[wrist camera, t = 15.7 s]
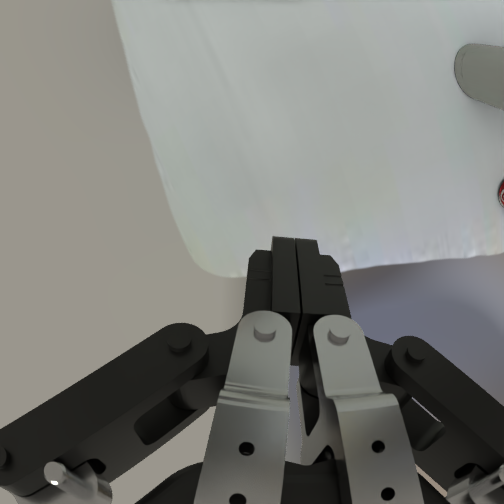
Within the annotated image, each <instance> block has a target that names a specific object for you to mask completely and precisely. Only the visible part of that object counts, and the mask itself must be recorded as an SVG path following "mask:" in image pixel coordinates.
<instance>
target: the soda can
mask: <svg viewBox="0 0 504 504" xmlns="http://www.w3.org/2000/svg"><path fill="white" fill-rule="evenodd" d="M499 201H500V203H501V205H502V206H503V207H504V182H503V183H502V185H501V188H500V191H499Z"/></svg>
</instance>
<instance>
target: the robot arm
mask: <svg viewBox="0 0 504 504" xmlns="http://www.w3.org/2000/svg"><path fill="white" fill-rule="evenodd" d="M455 75H456V78H457V81H458V83H459V85H460V87H461V89H462V90H463V91H464V92H465V93H466V94H467V95H468V96H469V97H471V98H473V99H476V100H478V101H481V102H484V103H486V104H489V105H491V106H494V107H496V108H499V109H501V110H504V47H499V46H490V45H481V44H468V45H466V46H464V47H463V48H461V49H460V51H459V52H458V54H457V56H456V60H455ZM290 365H295V366H299V379H298V381H297V387H296V388H297V397H298V405H299V414H300V423H301V432H302V448H301V457H300V462H301V465H300V464H296V463H292V462H288V461H285V456H286V445H287V435H288V424H289V423H288V422H289V411H290V398H288V385H289V372H290ZM412 397H413V398H415V399H416V400H417V401H418V402H419V403H420V404H421V405H422V406H424V407H425V408H426V409H427V410H428V411H429V412H430V413H432V414H433V415H434V416H435V417H436V418H437V419H438V420H440V421H441V422H439V421H437V420H435V419H434V418H433V417H432V416H431V415H430V414H429V413H427V412H426V411H425V410H424V409H423V408H422V407H421V406H420V405H418V404H417V403H416V402H415V401H414V400H413V399H412ZM212 406H216V410H215V414H214V418H213V422H212V427H211V431H210V435H209V440H208V444H207V448H206V452H205V457H204V461H203V462H200V463H196V464H193V465H190V466H187V467H185V468H183V469H181V470H179V471H177V472H176V473H174V474H172V475H171V476H170V477H168V478H167V479H165V480H164V481H163V482H162V483H160V484H159V485H158V486H157V487H155V488H154V489H153V490H152V491H150V492H149V493H148V494H146V495H145V496H144V497H143V498H142V499H140V500H139V501H137V502H136V503H135V504H504V406H502V405H501V404H500V403H499V402H498V401H497V400H495V399H494V398H493V397H492V396H491V395H490V394H488V393H487V392H486V391H485V390H484V389H482V388H481V387H480V386H479V385H478V384H476V383H475V382H474V381H473V380H472V379H471V378H469V377H468V376H467V375H466V374H465V373H463V372H462V371H461V370H460V369H458V368H457V367H456V366H455V365H454V364H453V363H451V362H450V361H449V360H448V359H446V358H445V357H444V356H443V355H442V354H440V353H439V352H438V351H437V350H435V349H434V348H433V347H432V346H430V345H429V344H428V343H427V342H425V341H424V340H422V339H420V338H418V337H414V336H404V337H401V338H399V339H397V340H396V341H395V342H394V344H393V345H389V344H386V343H382V342H378V341H375V340H372V339H370V338H368V337H366V336H364V333H363V331H362V329H361V327H360V326H359V325H358V324H357V323H356V322H355V321H353V320H352V319H351V315H350V310H349V306H348V302H347V297H346V293H345V289H344V287H343V281H342V278H341V273H340V269H339V265H338V264H337V263H336V262H335V260H334V259H333V258H332V257H331V256H330V255H320V254H319V249H318V244H317V240H311V239H300V238H295V240H294V238H287V237H275V236H273V238H272V245H271V251H267V250H256V251H255V252H254V253H253V254H252V255H251V257H250V258H249V263H248V273H247V282H246V291H245V300H244V309H243V315H242V318H241V319H240V321H239V322H238V323H237V324H236V325H235V326H234V327H232V328H231V329H229V330H226V331H223V332H219V333H213V334H208V335H205V333H204V332H203V331H202V330H201V329H200V328H198V327H197V326H194V325H192V324H188V323H175V324H171V325H168V326H166V327H164V328H162V329H161V330H159V331H158V332H156V333H154V334H153V335H151V336H150V337H148V338H146V339H145V340H143V341H142V342H140V343H139V344H137V345H135V346H134V347H132V348H131V349H129V350H128V351H126V352H125V353H123V354H121V355H120V356H118V357H117V358H115V359H114V360H112V361H110V362H109V363H107V364H105V365H104V366H102V367H101V368H99V369H98V370H96V371H94V372H93V373H91V374H89V375H88V376H87V377H85V378H83V379H81V380H80V381H78V382H77V383H75V384H73V385H72V386H70V387H69V388H67V389H65V390H64V391H62V392H61V393H59V394H57V395H56V396H54V397H53V398H51V399H49V400H48V401H46V402H44V403H43V404H41V405H39V406H38V407H36V408H35V409H33V410H32V411H30V412H28V413H26V414H25V415H23V416H22V417H20V418H18V419H17V420H15V421H13V422H12V423H10V424H8V425H7V426H5V427H3V428H2V429H0V487H2V488H4V489H5V490H7V491H9V492H10V493H11V494H12V495H13V496H14V497H15V499H16V501H17V502H18V504H111V502H112V489H111V486H110V485H109V483H110V482H112V481H113V480H115V479H116V478H118V477H119V476H120V475H122V474H123V473H125V472H126V471H128V470H129V469H131V468H132V467H134V466H135V465H136V464H138V463H139V462H140V461H142V460H143V459H145V458H146V457H147V456H149V455H150V454H152V453H153V452H154V451H156V450H157V449H158V448H160V447H161V446H162V445H164V444H165V443H166V442H168V441H169V440H170V439H172V438H173V437H174V436H176V435H177V434H178V433H180V432H181V431H182V430H183V429H185V428H186V427H187V426H188V425H190V424H191V423H192V422H194V421H195V420H196V419H197V418H199V417H200V416H201V415H202V414H203V413H205V412H206V411H207V410H208V409H209V407H212ZM415 464H416V465H418V466H419V467H420V468H421V469H422V470H423V471H424V472H425V473H426V474H428V475H429V476H430V477H431V478H432V479H433V480H434V481H435V482H437V483H438V484H439V485H440V486H441V487H442V488H443V489H445V490H446V491H447V496H446V497H444V496H442V495H441V494H440V493H439V492H438V491H437V490H436V489H435V488H434V487H433V486H432V485H431V484H430V483H429V482H428V481H427V480H426V479H425V478H424V477H423V476H421V475H420V474H419V473H418V472H417V470H416V466H415Z"/></svg>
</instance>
